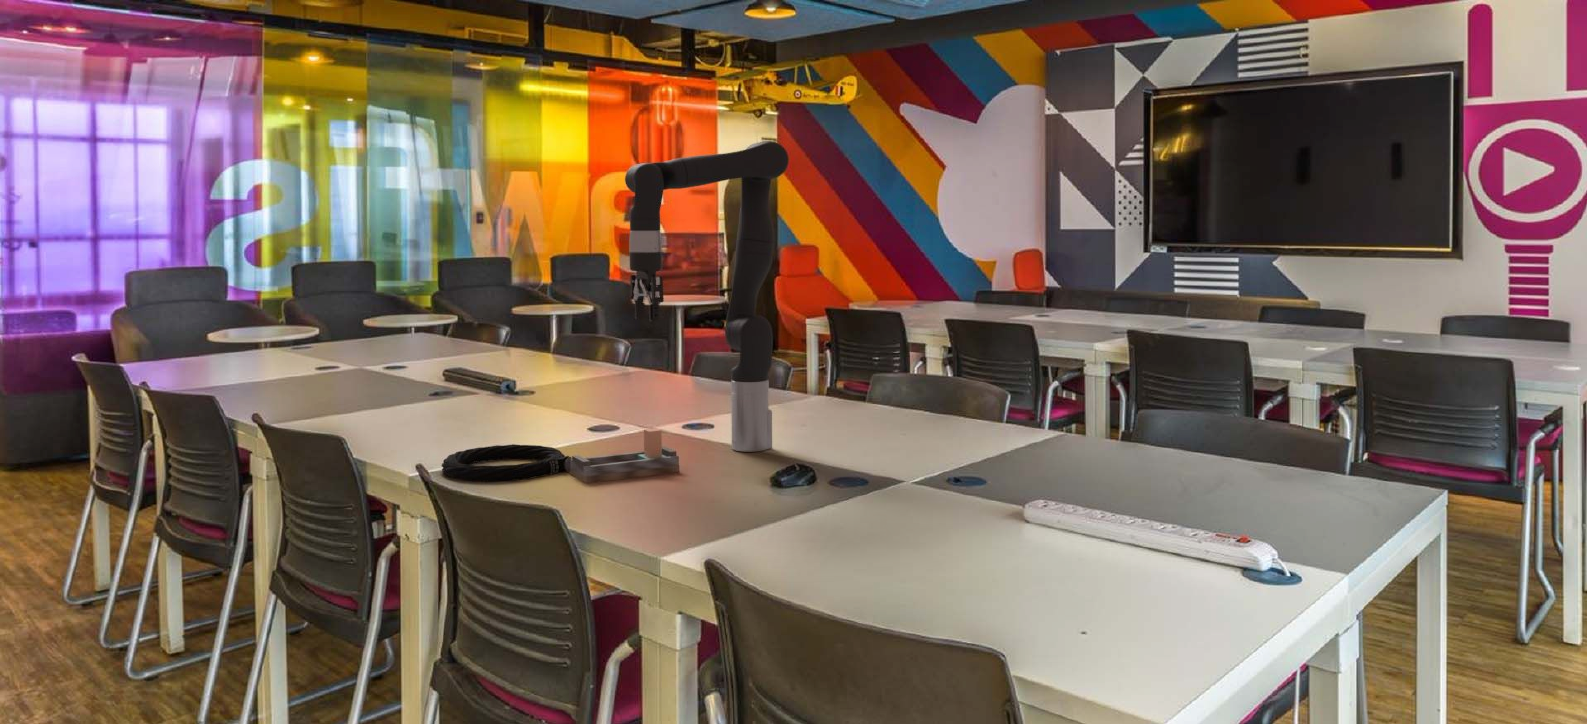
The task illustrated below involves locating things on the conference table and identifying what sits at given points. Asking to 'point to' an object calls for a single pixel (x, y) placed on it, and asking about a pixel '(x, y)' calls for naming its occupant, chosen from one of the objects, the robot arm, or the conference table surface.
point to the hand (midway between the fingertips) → (647, 319)
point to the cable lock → (549, 464)
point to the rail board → (622, 466)
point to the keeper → (652, 444)
